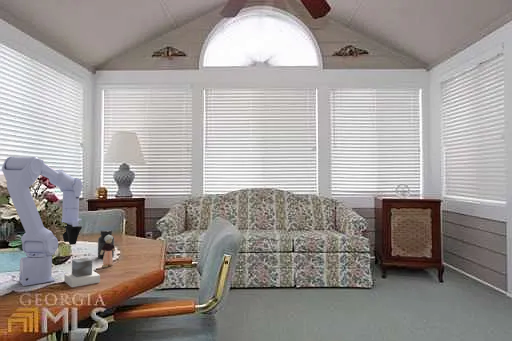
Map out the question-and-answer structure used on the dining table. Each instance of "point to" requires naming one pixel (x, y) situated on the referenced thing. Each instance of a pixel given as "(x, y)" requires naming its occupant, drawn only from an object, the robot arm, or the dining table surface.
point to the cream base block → (81, 279)
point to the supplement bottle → (102, 242)
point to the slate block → (81, 267)
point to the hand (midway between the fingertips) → (69, 243)
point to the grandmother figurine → (107, 251)
